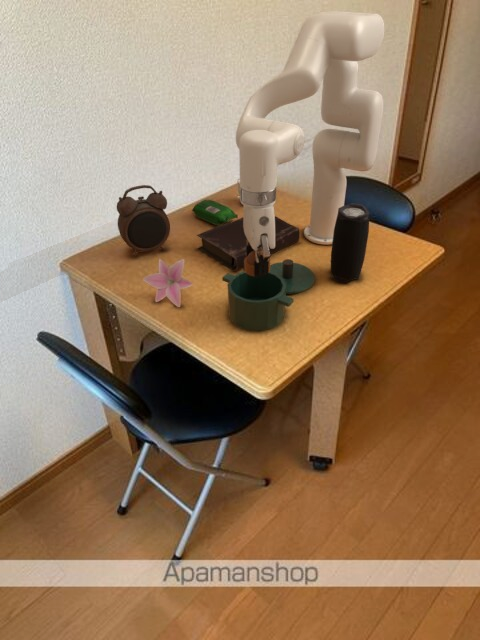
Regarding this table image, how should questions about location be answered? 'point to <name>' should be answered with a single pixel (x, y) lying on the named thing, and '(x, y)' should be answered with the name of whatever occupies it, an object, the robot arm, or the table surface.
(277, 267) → the pot lid
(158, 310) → the table surface
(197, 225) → the table surface
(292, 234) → the diary
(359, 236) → the portable speaker
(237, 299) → the pot
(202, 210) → the snack package
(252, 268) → the brown domed piece
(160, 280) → the lily
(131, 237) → the alarm clock
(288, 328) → the table surface
